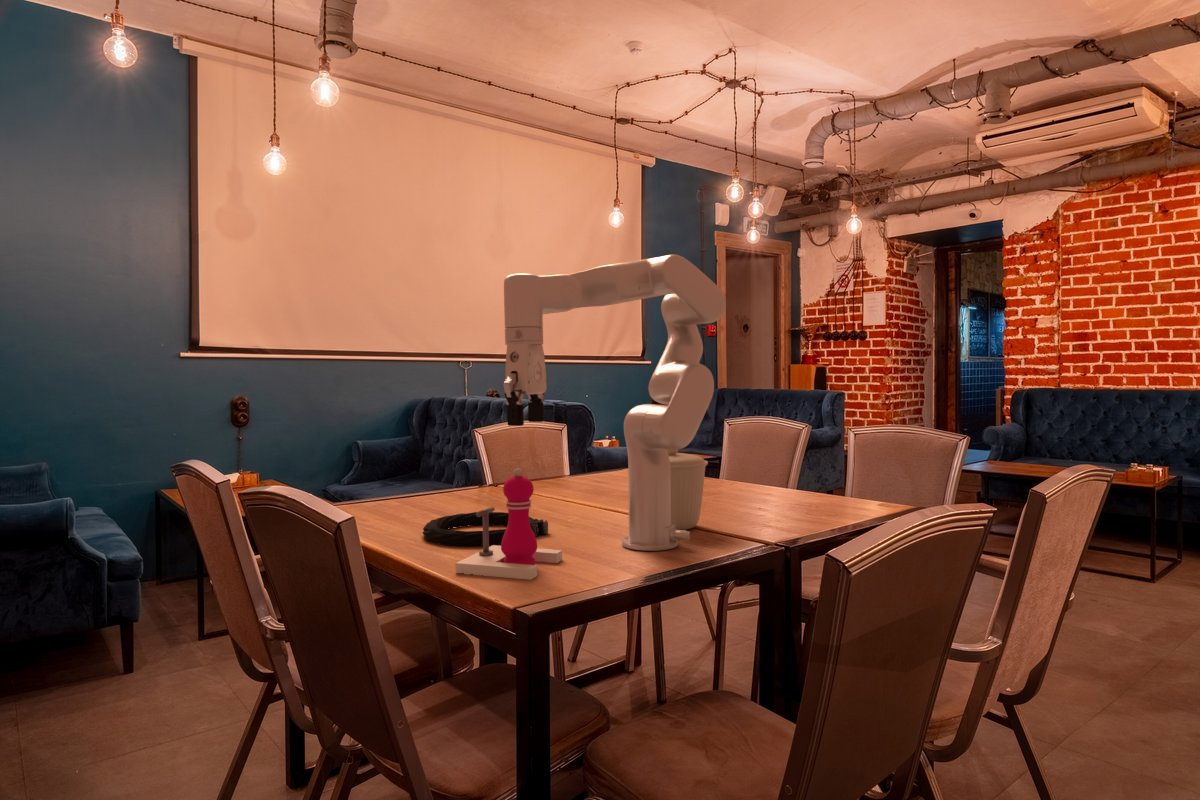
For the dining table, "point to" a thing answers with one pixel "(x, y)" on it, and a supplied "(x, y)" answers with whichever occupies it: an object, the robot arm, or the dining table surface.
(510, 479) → the pepper mill
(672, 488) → the canister
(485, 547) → the u-shaped stand
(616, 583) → the dining table surface
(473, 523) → the cable lock
